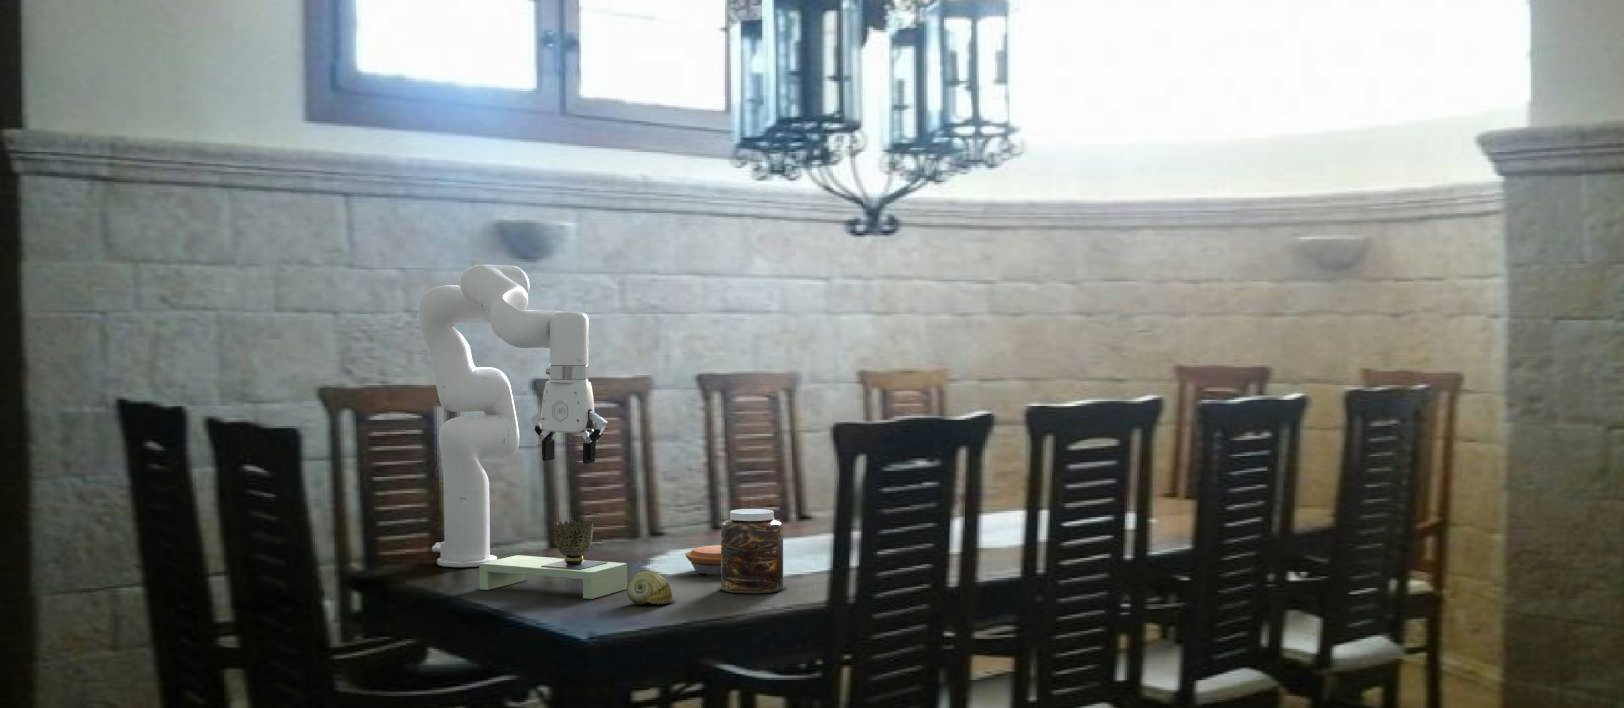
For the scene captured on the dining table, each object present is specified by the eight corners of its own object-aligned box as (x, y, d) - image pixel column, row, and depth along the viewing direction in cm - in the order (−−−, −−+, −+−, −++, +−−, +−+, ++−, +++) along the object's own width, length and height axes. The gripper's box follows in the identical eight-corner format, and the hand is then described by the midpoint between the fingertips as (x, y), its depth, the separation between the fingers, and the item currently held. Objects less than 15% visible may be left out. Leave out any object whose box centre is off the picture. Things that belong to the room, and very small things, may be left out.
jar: (771, 582, 300) (771, 506, 300) (791, 591, 289) (790, 513, 289) (714, 586, 296) (713, 509, 295) (731, 595, 285) (731, 516, 284)
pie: (774, 572, 312) (774, 548, 312) (707, 579, 304) (707, 554, 304) (737, 563, 325) (737, 539, 325) (672, 569, 317) (672, 545, 317)
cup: (601, 562, 293) (601, 520, 293) (579, 567, 286) (579, 525, 286) (568, 559, 296) (568, 518, 296) (546, 565, 289) (546, 523, 289)
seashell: (652, 621, 281) (626, 587, 283) (682, 597, 282) (656, 563, 283) (643, 621, 272) (616, 586, 273) (674, 596, 272) (647, 561, 274)
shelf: (479, 589, 293) (479, 562, 293) (517, 580, 304) (517, 554, 304) (591, 599, 282) (591, 571, 282) (627, 589, 293) (626, 562, 293)
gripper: (521, 373, 299) (521, 460, 299) (594, 376, 291) (593, 465, 291) (544, 372, 305) (544, 457, 306) (616, 375, 298) (615, 462, 298)
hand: (568, 461), depth 299 cm, fingers open, 9 cm apart
